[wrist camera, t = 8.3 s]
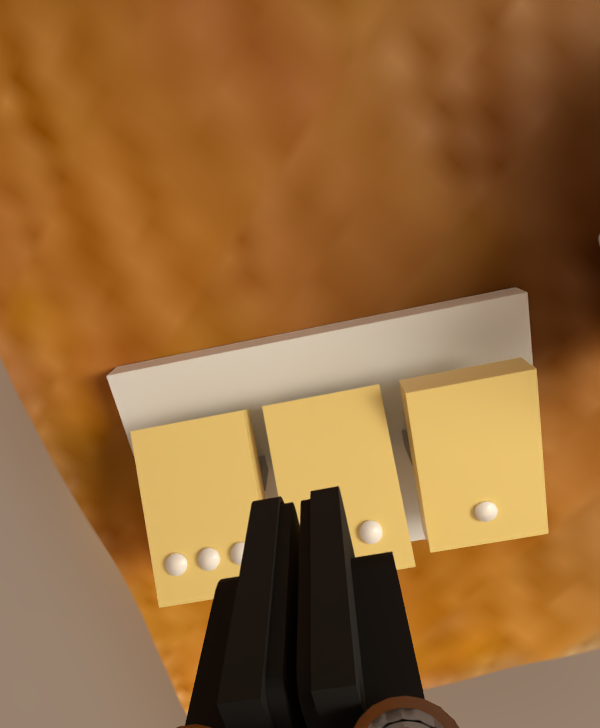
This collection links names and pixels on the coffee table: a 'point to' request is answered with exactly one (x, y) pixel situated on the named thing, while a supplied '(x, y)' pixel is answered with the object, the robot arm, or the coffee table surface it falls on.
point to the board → (328, 371)
